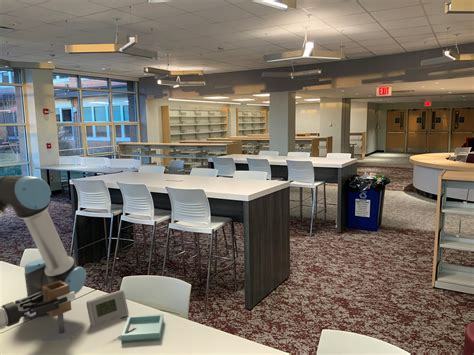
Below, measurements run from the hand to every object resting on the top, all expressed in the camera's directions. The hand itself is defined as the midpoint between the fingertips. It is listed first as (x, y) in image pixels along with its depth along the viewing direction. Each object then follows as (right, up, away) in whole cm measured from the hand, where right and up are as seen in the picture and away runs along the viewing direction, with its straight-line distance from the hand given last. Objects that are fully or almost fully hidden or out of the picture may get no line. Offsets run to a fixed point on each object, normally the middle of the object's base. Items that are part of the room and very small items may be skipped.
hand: (69, 292), depth 146 cm
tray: (+29, -16, +1) cm, 32 cm away
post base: (-2, -17, -1) cm, 17 cm away
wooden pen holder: (-3, -6, -3) cm, 7 cm away
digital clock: (+12, -15, +10) cm, 22 cm away
